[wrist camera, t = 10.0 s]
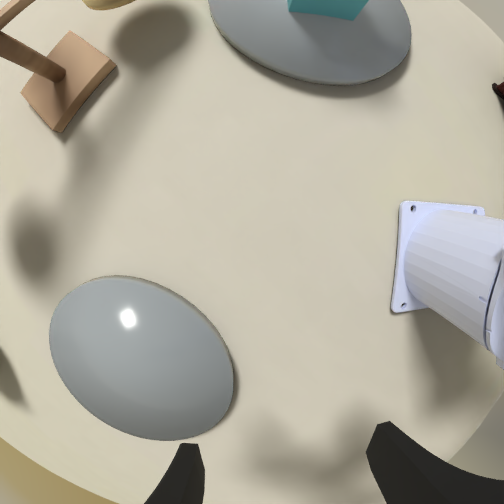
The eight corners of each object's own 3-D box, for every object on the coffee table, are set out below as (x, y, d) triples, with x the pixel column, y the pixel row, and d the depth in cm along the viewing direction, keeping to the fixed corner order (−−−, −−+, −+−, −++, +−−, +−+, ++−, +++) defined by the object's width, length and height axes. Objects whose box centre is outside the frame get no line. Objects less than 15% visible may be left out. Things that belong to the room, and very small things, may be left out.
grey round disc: (227, 272, 17) (226, 278, 16) (238, 434, 21) (238, 444, 19) (38, 275, 17) (29, 279, 16) (87, 419, 20) (83, 426, 19)
